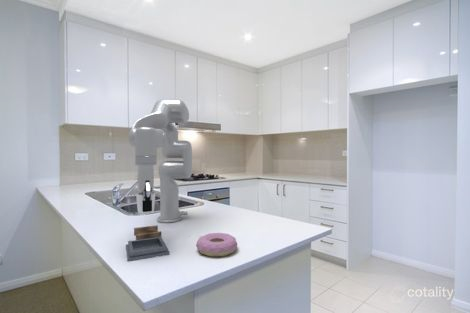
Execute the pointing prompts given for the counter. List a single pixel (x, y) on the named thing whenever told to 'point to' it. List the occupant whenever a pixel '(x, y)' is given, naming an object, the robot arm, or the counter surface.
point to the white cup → (140, 204)
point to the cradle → (146, 248)
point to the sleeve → (147, 232)
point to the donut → (216, 244)
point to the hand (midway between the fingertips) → (146, 208)
